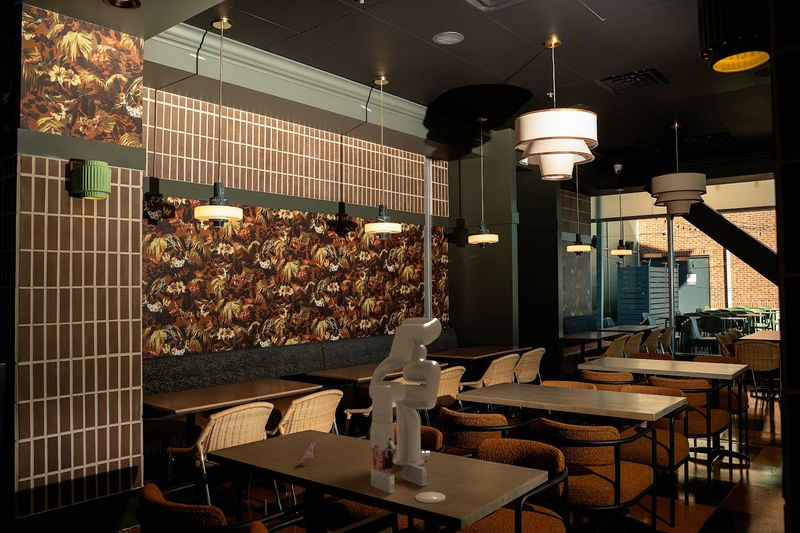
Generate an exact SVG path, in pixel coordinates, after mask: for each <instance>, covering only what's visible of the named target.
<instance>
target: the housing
mask: <svg viewBox="0 0 800 533" xmlns="http://www.w3.org/2000/svg"><path fill="white" fill-rule="evenodd" d="M427 472H428V471H427V468H426V467H424V466H422V465H419V466H418V465H416V464H413V463H410V462H403V466H402V479H403V480H404V481H408V482H410V483H413V484H416V485H418V486H420V487H426V486H428V484H427V483H428V480H427V478H428V477H427V475H428V473H427ZM370 486H371V487H373V488H376V489H378V490H381V491H382V492H386V493H388V494H394V493H395V474H393V473H392V474H391V473H388V472H386V471H383V470H381V469H378V468H374V467H372V468H371V467H370Z"/></svg>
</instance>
